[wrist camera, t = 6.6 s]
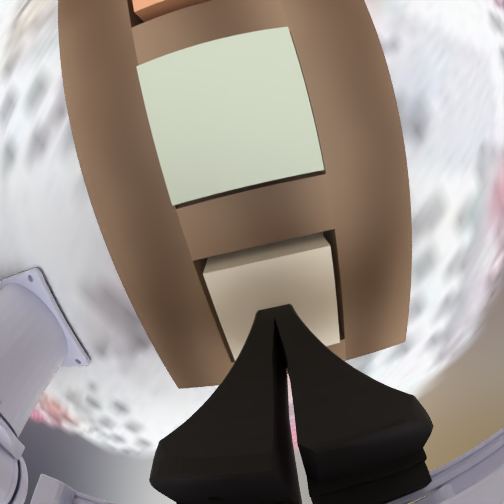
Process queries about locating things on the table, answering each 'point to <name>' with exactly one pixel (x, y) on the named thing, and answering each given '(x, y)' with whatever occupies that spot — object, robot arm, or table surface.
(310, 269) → the cream button
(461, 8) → the table surface
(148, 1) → the terracotta button
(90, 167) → the button panel
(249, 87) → the sage button
